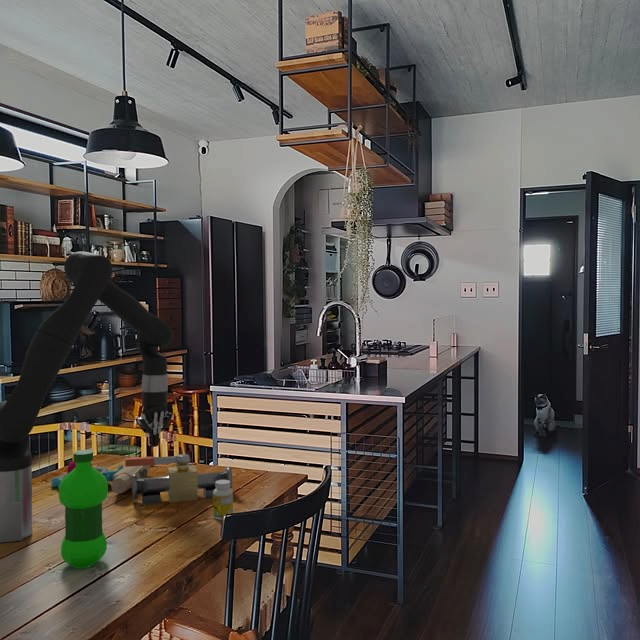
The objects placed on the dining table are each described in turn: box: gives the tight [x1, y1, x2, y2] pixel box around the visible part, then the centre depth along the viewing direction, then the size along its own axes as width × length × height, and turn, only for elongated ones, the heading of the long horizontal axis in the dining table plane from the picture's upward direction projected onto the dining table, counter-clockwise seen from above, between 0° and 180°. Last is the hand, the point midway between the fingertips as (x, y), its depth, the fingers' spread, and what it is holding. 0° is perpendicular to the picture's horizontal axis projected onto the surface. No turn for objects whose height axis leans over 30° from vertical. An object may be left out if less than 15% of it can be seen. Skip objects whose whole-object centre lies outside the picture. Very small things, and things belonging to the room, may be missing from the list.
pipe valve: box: [131, 462, 233, 505], centre depth 181 cm, size 28×7×10 cm, turn 108°
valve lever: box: [124, 453, 190, 467], centre depth 179 cm, size 18×4×2 cm, turn 103°
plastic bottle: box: [58, 449, 109, 569], centre depth 136 cm, size 10×10×25 cm
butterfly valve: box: [50, 465, 151, 494], centre depth 192 cm, size 27×7×30 cm
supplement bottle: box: [212, 480, 234, 521], centre depth 165 cm, size 5×5×10 cm
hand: (154, 446), depth 185 cm, fingers closed
